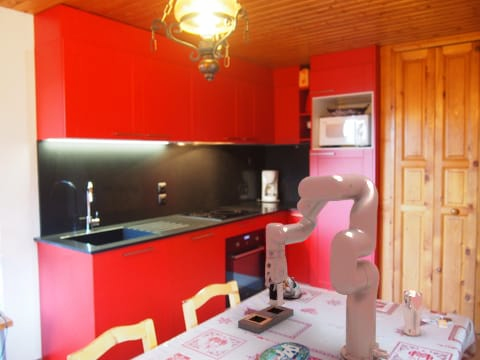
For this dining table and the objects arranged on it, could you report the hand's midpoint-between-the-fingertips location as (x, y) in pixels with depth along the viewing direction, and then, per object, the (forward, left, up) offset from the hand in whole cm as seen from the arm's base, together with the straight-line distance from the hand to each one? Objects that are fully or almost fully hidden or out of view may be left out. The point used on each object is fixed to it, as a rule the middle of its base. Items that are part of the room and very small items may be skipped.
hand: (276, 297), depth 163 cm
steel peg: (0, 0, -3) cm, 3 cm away
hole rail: (+1, +6, -9) cm, 10 cm away
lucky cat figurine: (+11, -26, -9) cm, 30 cm away
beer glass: (-47, -20, -9) cm, 52 cm away
